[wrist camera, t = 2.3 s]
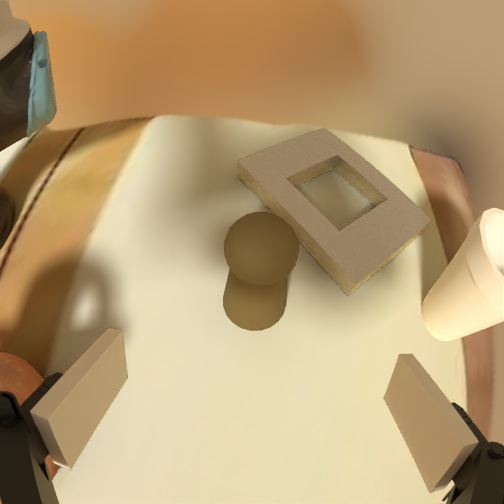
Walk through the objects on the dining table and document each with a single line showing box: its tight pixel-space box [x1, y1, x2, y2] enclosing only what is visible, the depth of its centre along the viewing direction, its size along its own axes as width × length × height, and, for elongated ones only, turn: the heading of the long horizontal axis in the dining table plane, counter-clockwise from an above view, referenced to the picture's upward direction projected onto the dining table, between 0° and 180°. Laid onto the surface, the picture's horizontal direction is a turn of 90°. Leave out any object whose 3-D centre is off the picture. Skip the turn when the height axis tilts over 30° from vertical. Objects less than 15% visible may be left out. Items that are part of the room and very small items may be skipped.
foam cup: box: [421, 208, 504, 341], centre depth 24 cm, size 10×9×13 cm
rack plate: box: [237, 128, 431, 296], centre depth 36 cm, size 20×15×2 cm
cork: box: [223, 212, 299, 331], centre depth 25 cm, size 6×6×11 cm
